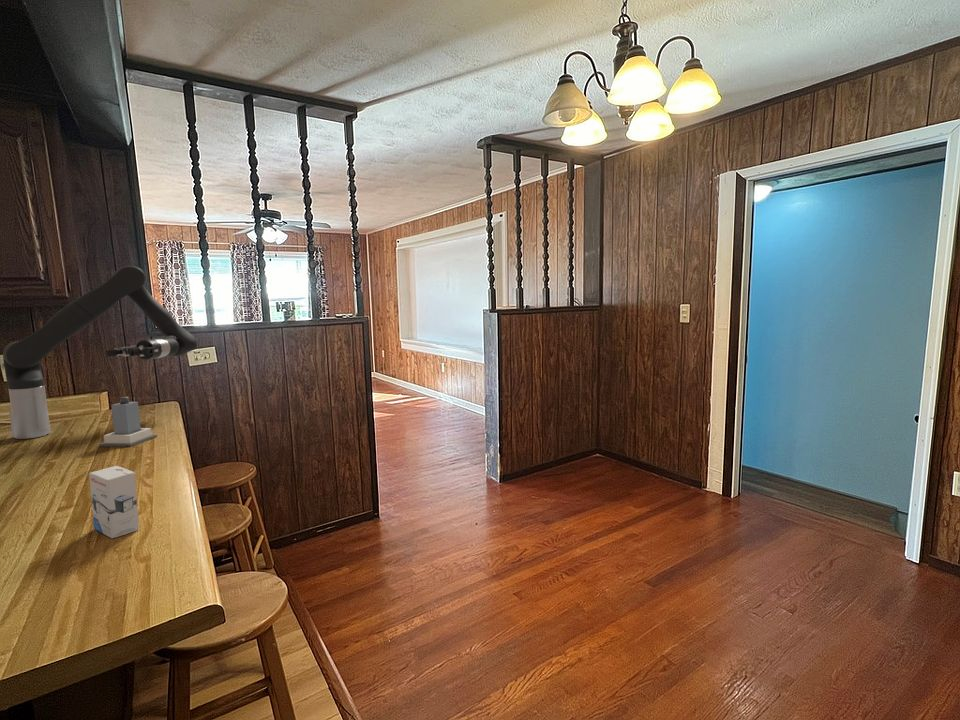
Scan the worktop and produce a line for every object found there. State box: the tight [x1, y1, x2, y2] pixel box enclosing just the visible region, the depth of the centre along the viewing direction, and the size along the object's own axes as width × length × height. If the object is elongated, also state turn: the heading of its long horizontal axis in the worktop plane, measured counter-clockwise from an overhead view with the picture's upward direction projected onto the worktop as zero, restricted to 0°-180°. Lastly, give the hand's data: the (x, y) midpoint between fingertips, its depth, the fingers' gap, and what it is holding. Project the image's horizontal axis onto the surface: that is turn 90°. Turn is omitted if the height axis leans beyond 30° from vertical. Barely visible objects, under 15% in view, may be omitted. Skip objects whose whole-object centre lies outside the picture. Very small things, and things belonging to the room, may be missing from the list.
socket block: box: [98, 427, 158, 447], centre depth 161 cm, size 11×11×3 cm
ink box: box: [88, 465, 140, 539], centre depth 97 cm, size 9×5×12 cm, turn 58°
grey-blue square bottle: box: [110, 396, 142, 435], centre depth 160 cm, size 5×5×14 cm
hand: (118, 353), depth 171 cm, fingers open, 8 cm apart
